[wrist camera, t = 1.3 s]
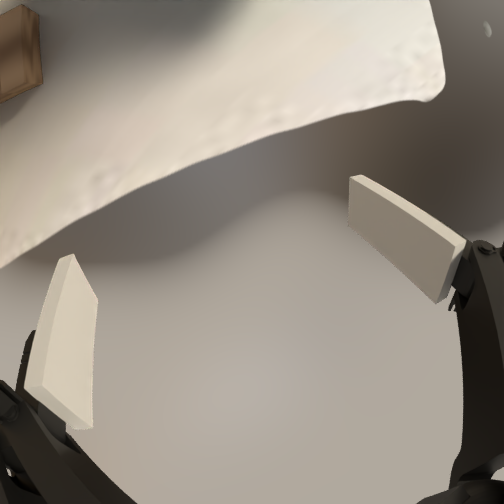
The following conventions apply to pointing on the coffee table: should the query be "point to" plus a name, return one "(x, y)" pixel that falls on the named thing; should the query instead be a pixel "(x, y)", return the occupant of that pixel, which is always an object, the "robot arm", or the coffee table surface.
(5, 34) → the hole block
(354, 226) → the robot arm
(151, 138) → the coffee table surface
